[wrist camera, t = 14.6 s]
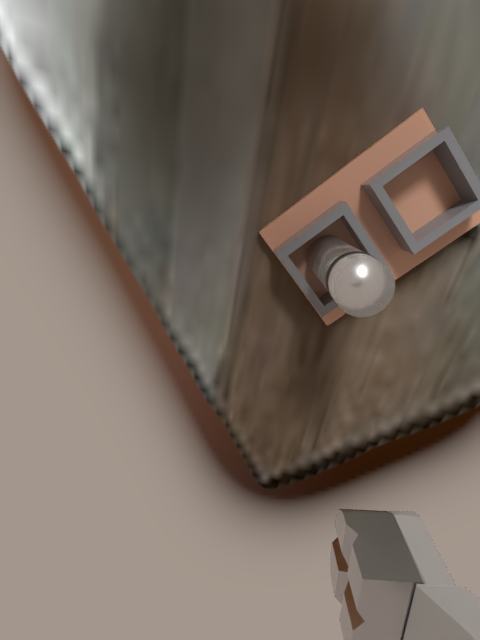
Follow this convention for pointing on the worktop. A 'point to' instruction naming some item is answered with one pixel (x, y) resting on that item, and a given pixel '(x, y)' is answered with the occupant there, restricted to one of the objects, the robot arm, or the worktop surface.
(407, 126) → the grey double cup holder
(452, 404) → the worktop surface
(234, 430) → the worktop surface
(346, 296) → the grey capped bottle
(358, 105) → the worktop surface
